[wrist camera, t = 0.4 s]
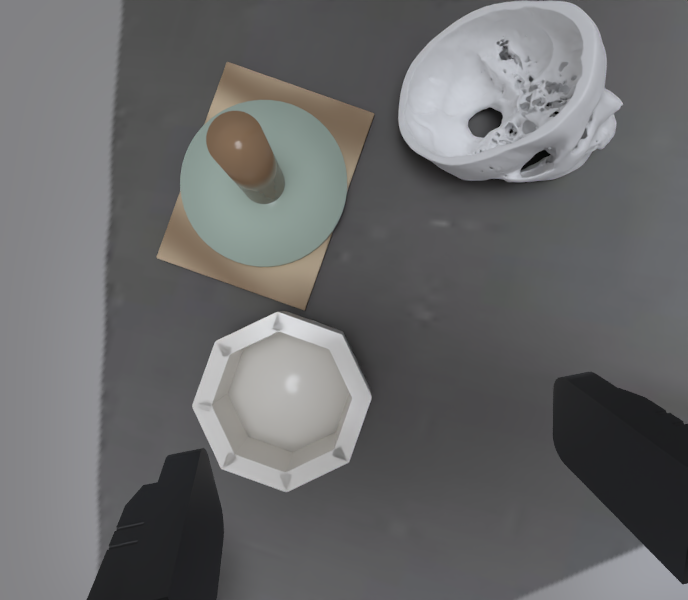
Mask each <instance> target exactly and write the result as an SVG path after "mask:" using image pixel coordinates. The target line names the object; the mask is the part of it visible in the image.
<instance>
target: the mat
mask: <svg viewBox="0 0 688 600" xmlns="http://www.w3.org/2000/svg"><path fill="white" fill-rule="evenodd" d="M254 100H274V101H281V102H285V103H288V104H292V105H294V106H297V107H299V108H301V109H303V110H305V111H306V112H308V113H310V114H311V115H313V116H314V117H315V118H317V119H318V120H319V121H320V122H321V123H322V124H323V125H324V126H325V127H326V128H327V129H328V130H329V132H330V133H331V134H332V136H333V137H334V139H335V140H336V142H337V144H338V146H339V148H340V150H341V153H342V155H343V158H344V162H345V166H346V173H347V191H348V188H349V185H350V183H351V180H352V177H353V174H354V171H355V168H356V166H357V163H358V160H359V157H360V154H361V152H362V149H363V146H364V143H365V140H366V138H367V135H368V132H369V129H370V126H371V123H372V121H373V118H374V113H372V112H369V111H366V110H363V109H360V108H357V107H355V106H352V105H349V104H346V103H343V102H340V101H337V100H335V99H332V98H329V97H326V96H323V95H320V94H318V93H315V92H312V91H309V90H306V89H303V88H300V87H298V86H295V85H292V84H289V83H286V82H283V81H281V80H278V79H275V78H272V77H269V76H266V75H263V74H261V73H258V72H255V71H252V70H249V69H246V68H243V67H241V66H238V65H235V64H232V63H229V62H227V63H226V66H225V69H224V71H223V74H222V77H221V80H220V83H219V85H218V88H217V91H216V94H215V96H214V99H213V102H212V105H211V107H210V110H209V113H208V116H207V119H206V121H205V124H206V123H207V122H208V121H209V120H210V119H211V118H213V117H214V116H215V115H217V114H218V113H220V112H221V111H223V110H225V109H227V108H229V107H231V106H234V105H236V104H239V103H243V102H247V101H254ZM205 124H204V125H205ZM332 233H333V232H332ZM332 233H331V235H330V236H329V237H328V239H327V240H326V241H325V242H324V243H323V244H322V245H321V246H320V247H319V248H317V249H316V250H315V251H313V252H312V253H311V254H309V255H307V256H305V257H304V258H302V259H300V260H297V261H295V262H292V263H289V264H286V265H282V266H275V267H256V266H249V265H245V264H241V263H238V262H235V261H233V260H231V259H228V258H226V257H224V256H223V255H221V254H219V253H218V252H216V251H215V250H213V249H212V248H211V247H210V246H208V245H207V244H206V243H205V242H204V241H203V240H202V239H201V238H200V236H199V235H198V234H197V232H196V231H195V230H194V228H193V227H192V225H191V223H190V221H189V219H188V217H187V215H186V212H185V210H184V206H183V202H182V198H181V191H180V194H179V196H178V199H177V202H176V205H175V207H174V210H173V213H172V216H171V218H170V221H169V224H168V227H167V230H166V232H165V235H164V238H163V241H162V243H161V246H160V249H159V252H158V255H157V257H156V258H158V259H161V260H164V261H166V262H169V263H172V264H175V265H178V266H181V267H183V268H186V269H189V270H192V271H195V272H197V273H200V274H203V275H206V276H209V277H212V278H214V279H217V280H220V281H223V282H226V283H228V284H231V285H234V286H237V287H240V288H243V289H245V290H248V291H251V292H254V293H257V294H259V295H262V296H265V297H268V298H271V299H274V300H276V301H279V302H282V303H285V304H288V305H290V306H293V307H296V308H299V309H302V310H305V309H306V306H307V303H308V301H309V298H310V295H311V292H312V289H313V287H314V284H315V281H316V278H317V275H318V273H319V270H320V267H321V264H322V261H323V258H324V256H325V253H326V250H327V247H328V244H329V242H330V239H331V236H332Z"/></svg>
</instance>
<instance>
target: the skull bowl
mask: <svg viewBox="0 0 688 600" xmlns="http://www.w3.org/2000/svg"><path fill="white" fill-rule="evenodd" d="M507 40H508V41H507ZM507 42H508V43H507ZM503 46H505V47H506V49H505V48H503ZM509 55H510V57H511V58H513V59H509V58H508V56H509ZM606 69H607V58H606V51H605V48H604V45H603V43H602V38H601V35H600V32H599V30H598V28H597V26H596V24H595V23H594V22H593V20H592V19H591V18H590V17H589V16H588V15H587V14H586V13H585V12H584V11H583V10H582V9H581V8H579V7H578V6H577V5H575V4H572V3H569V2H564V1H512V2H503V3H498V4H493V5H490V6H485V7H483V8H480V9H478V10H475V11H473V12H470V13H469V14H467V15H465V16H463V17H462V18H460V19H458V20H457V21H456V22H454V23H453V24H451V25H450V26H449V27H447V28H446V29H445V30H443V31H442V32H441V33H440V34H438V35H437V36H436V37H435V38H434V39H432V40H431V41H430V42H429V43H428V44H427V45H426V46H425V48H424V49H423V50H422V51H421V52H420V53H419V54H418V55H417V57H416V58H415V60H414V61H413V62H412V64H411V66H410V67H409V69H408V71H407V73H406V76H405V78H404V81H403V85H402V89H401V93H400V101H399V110H398V121H399V128H400V132H401V134H402V136H403V138H404V140H405V142H406V143H407V144H408V145H409V147H410V148H411V149H412V150H413V151H415V152H416V153H417V154H419V155H421V156H423V157H424V158H426V159H428V160H430V161H431V162H433V163H434V164H435V165H436V166H438V167H439V168H441V169H442V170H444V171H446V172H448V173H450V174H452V175H454V176H456V177H458V178H460V179H462V180H469V181H483V180H488V179H503V180H505V181H507V182H534V181H543V180H553V179H556V178H559V177H562V176H564V175H566V174H568V173H570V172H572V171H574V170H576V169H578V168H579V167H581V166H582V165H583V164H584V163H585V162H586V160H587V159H588V158H589V156H590V154H591V153H592V151H595V150H596V149H603V148H604V147H605V146H606V144H608V143H609V142H610V140H611V139H612V138H613V136H614V134H615V129H616V120H615V116H614V113H615V112H616V111H618V110H619V109H620V107H621V105H623V103H622V102H621V100H620V99H619V98H618V97H617V96H616V95H615V94H613V93H612V92H611V91H609V90H607V89H605V78H606ZM564 82H565V83H564ZM539 102H540V103H539ZM548 103H549V106H546V105H547V104H548ZM489 107H491V108H493V109H494V110H497V111H500V112H501V113H502V115H503V119H502V121H501V122H502V123H501V125H500V126H499V127H498V128H496V129H494V130H492V131H490V132H489V133H488V134H487V135H486V136H485V137H484V138H481V137H476V136H474V135H472V133H471V131H470V129H469V128H468V121H469V119H470V118H471V117H473V116H474V115H475V114H476V113H478V112H480V111H481V110H483V109H487V108H489ZM555 111H557V112H559V113H558V114H553V113H554V112H555ZM550 116H551V117H550ZM553 116H555V117H553ZM517 126H518V127H517ZM511 129H512V130H513V129H514V130H513V133H510V130H511ZM515 132H517V133H516V134H515ZM542 150H546V151H547V152H548V153H549V154H551V155H549V156H548V157H545V158H543V159H541V160H540V161H539V162H537V163H535V164H533V165H530V166H528V167H527V168H526V169H523V170H521V168H522V167H523V166H524V165H525V163H526V162H528V161H529V160H530V159H531V158H532V157H533V156H534V155H535V154H536V153H538V152H540V151H542Z"/></svg>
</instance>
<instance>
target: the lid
mask: <svg viewBox="0 0 688 600" xmlns="http://www.w3.org/2000/svg"><path fill="white" fill-rule="evenodd" d="M180 189H181V198H182V202H183V206H184V210H185V212H186V215H187V217H188V219H189V221H190V223H191V225H192V227H193V228H194V230H195V231H196V232H197V234H198V235H199V236H200V238H201V239H202V240H203V241H204V242H205V243H206V244H207V245H208V246H210V247H211V248H212V249H213V250H215V251H216V252H218V253H219V254H221V255H223V256H224V257H226V258H228V259H231V260H233V261H235V262H238V263H241V264H245V265H249V266H256V267H275V266H282V265H286V264H289V263H292V262H295V261H297V260H300V259H302V258H304V257H305V256H307V255H309V254H311V253H312V252H313V251H315V250H316V249H317V248H319V247H320V246H321V245H322V244H323V243H324V242H325V241H326V240H327V239H328V237H329V236H330V235H331V233H332V232H333V231H334V229H335V227H336V226H337V224H338V222H339V220H340V218H341V215H342V213H343V209H344V206H345V202H346V195H347V173H346V166H345V162H344V158H343V155H342V153H341V150H340V148H339V146H338V144H337V142H336V140H335V139H334V137H333V136H332V134H331V133H330V132H329V130H328V129H327V128H326V127H325V126H324V125H323V124H322V123H321V122H320V121H319V120H318V119H317V118H315V117H314V116H313V115H311V114H310V113H308V112H306V111H305V110H303V109H301V108H299V107H297V106H294V105H292V104H288V103H285V102H281V101H274V100H254V101H247V102H243V103H239V104H236V105H234V106H231V107H229V108H227V109H225V110H223V111H221V112H220V113H218V114H217V115H215V116H214V117H213V118H211V119H210V120H209V121H208V122H207V123H206V124H205V125H204V126H203V127H202V128H201V129H200V130H199V131H198V133H197V134H196V135H195V137H194V138H193V140H192V142H191V143H190V145H189V147H188V150H187V152H186V154H185V157H184V161H183V164H182V169H181V176H180Z"/></svg>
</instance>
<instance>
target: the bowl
mask: <svg viewBox="0 0 688 600" xmlns="http://www.w3.org/2000/svg"><path fill="white" fill-rule="evenodd" d="M371 399H372V396H371V392H370V389H369V386H368V383H367V381H366V379H365V377H364V375H363V373H362V371H361V369H360V367H359V365H358V362H357V360H356V357H355V356H354V354H353V352H352V350H351V348H350V346H349V343H348V341H347V339H346V337H345V335H344V333H343V332H342V331H340V330H338V329H335V328H332V327H329V326H326V325H324V324H321V323H319V322H317V321H314V320H311V319H307V318H304V317H301V316H298V315H295V314H293V313H290V312H287V311H282V312H276V313H274V314H272V315H269V316H267V317H265V318H263V319H261V320H259V321H257V322H255V323H253V324H251V325H248V326H246V327H244V328H242V329H240V330H238V331H236V332H234V333H232V334H230V335H227V336H225V337H223V338H221V339H219V340H217V341H216V342H215V343H214V346H213V349H212V352H211V355H210V357H209V360H208V363H207V366H206V369H205V371H204V374H203V377H202V380H201V383H200V385H199V388H198V391H197V394H196V397H195V399H194V402H193V405H192V406H193V410H194V412H195V414H196V416H197V418H198V420H199V422H200V424H201V427H202V429H203V431H204V433H205V435H206V437H207V439H208V442H209V444H210V446H211V448H212V450H213V452H214V454H215V456H216V459H217V461H218V463H219V465H220V467H221V468H222V469H223V470H226V471H228V472H231V473H234V474H237V475H240V476H242V477H245V478H248V479H251V480H254V481H256V482H259V483H262V484H265V485H267V486H270V487H273V488H276V489H279V490H281V491H284V492H286V491H287V492H288V491H290V490H292V489H294V488H297V487H299V486H301V485H303V484H305V483H307V482H309V481H311V480H313V479H315V478H318V477H320V476H322V475H324V474H326V473H328V472H330V471H332V470H334V469H336V468H338V467H341V466H343V465H345V464H347V463H349V461H350V458H351V455H352V452H353V450H354V447H355V444H356V441H357V438H358V435H359V433H360V430H361V427H362V424H363V421H364V418H365V416H366V413H367V410H368V407H369V404H370V401H371Z"/></svg>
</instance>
